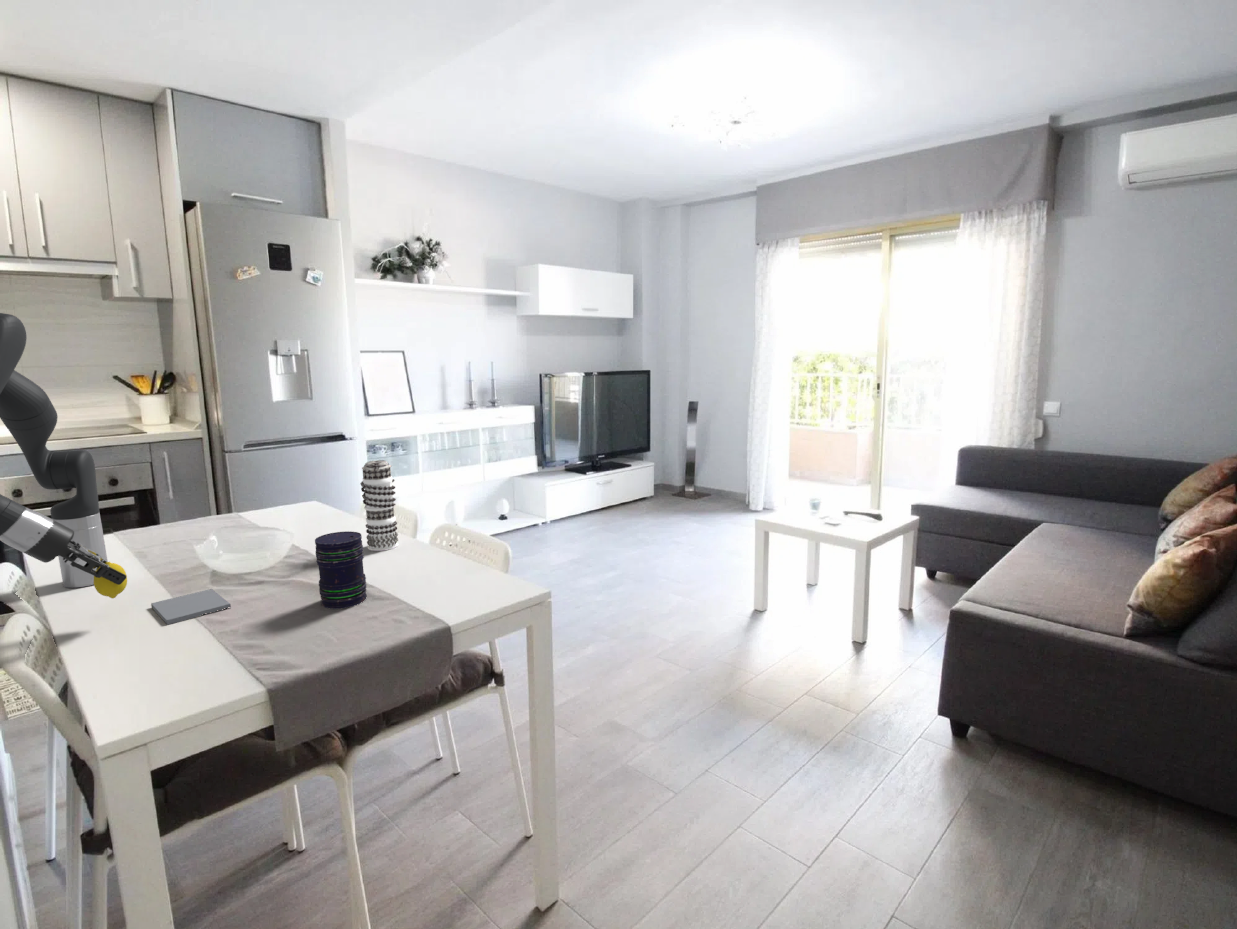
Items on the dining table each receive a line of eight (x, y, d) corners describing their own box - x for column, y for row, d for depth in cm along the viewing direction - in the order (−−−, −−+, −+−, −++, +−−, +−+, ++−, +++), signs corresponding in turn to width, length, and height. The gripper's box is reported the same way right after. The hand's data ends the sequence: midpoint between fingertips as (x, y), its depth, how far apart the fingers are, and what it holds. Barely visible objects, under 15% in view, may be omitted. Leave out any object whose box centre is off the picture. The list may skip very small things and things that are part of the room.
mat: (151, 607, 147) (151, 603, 147) (212, 592, 156) (211, 588, 156) (167, 624, 138) (166, 620, 138) (230, 608, 146) (230, 603, 146)
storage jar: (317, 611, 144) (310, 545, 141) (324, 595, 153) (318, 533, 150) (365, 606, 146) (359, 541, 144) (369, 590, 155) (364, 529, 153)
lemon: (91, 604, 135) (85, 567, 133) (104, 594, 140) (98, 559, 139) (123, 601, 136) (117, 565, 135) (134, 592, 142) (128, 556, 140)
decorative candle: (367, 543, 193) (359, 460, 189) (400, 540, 196) (393, 458, 192) (365, 552, 185) (357, 465, 180) (399, 549, 188) (392, 463, 183)
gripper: (56, 525, 124) (141, 569, 135) (46, 512, 134) (126, 554, 145) (23, 559, 122) (113, 601, 132) (16, 543, 131) (100, 583, 142)
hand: (120, 576), depth 139 cm, fingers closed on lemon, 5 cm apart
